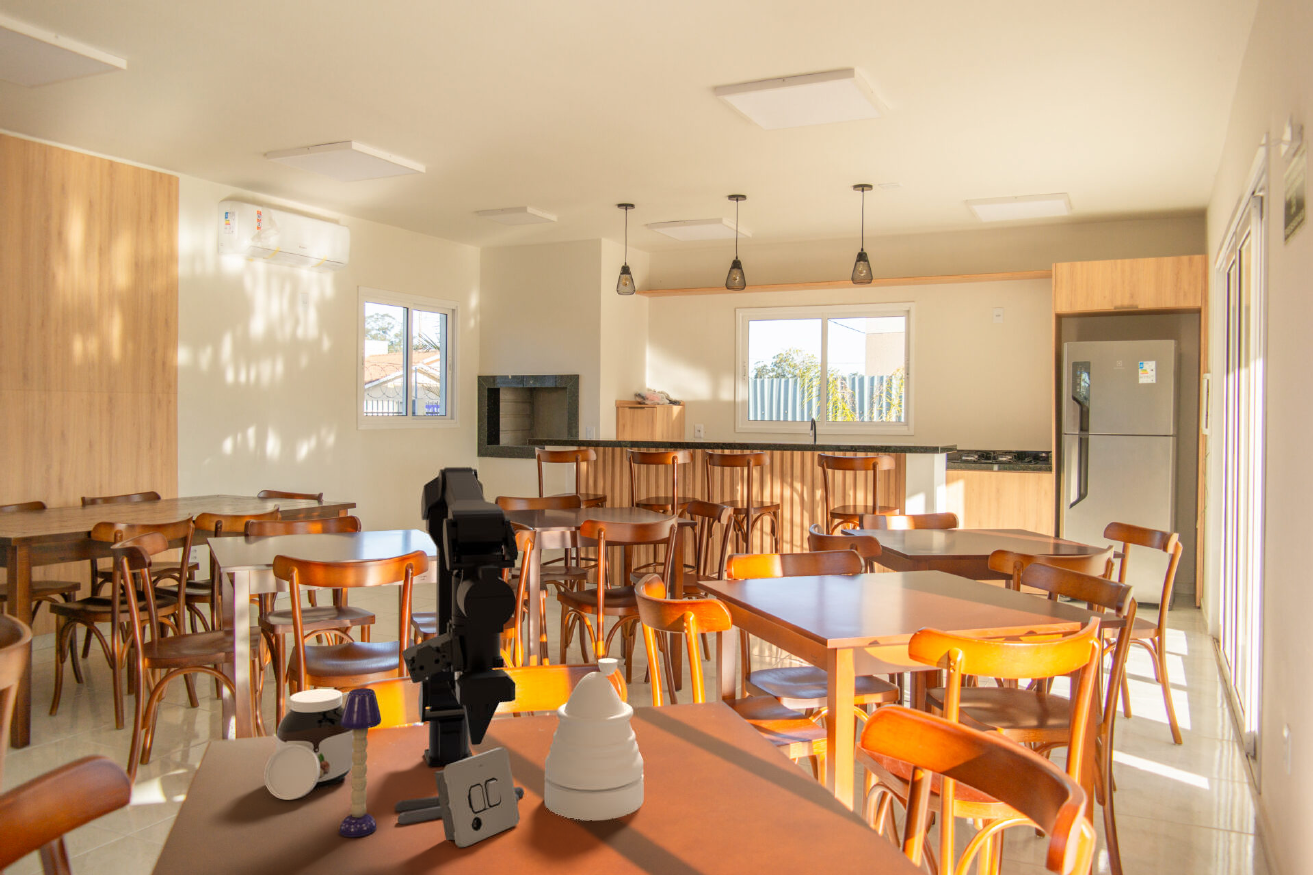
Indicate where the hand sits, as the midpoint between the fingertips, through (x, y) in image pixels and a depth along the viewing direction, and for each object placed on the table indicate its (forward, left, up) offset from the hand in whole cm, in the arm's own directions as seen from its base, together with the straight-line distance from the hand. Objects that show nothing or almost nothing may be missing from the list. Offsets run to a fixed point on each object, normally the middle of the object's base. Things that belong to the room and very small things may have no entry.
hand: (475, 743), depth 112 cm
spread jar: (-22, -19, -11) cm, 31 cm away
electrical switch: (0, 0, -11) cm, 11 cm away
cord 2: (-6, -1, -11) cm, 13 cm away
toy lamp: (-5, -13, -11) cm, 18 cm away
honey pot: (-5, +16, -11) cm, 20 cm away
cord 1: (-9, -1, -11) cm, 14 cm away
